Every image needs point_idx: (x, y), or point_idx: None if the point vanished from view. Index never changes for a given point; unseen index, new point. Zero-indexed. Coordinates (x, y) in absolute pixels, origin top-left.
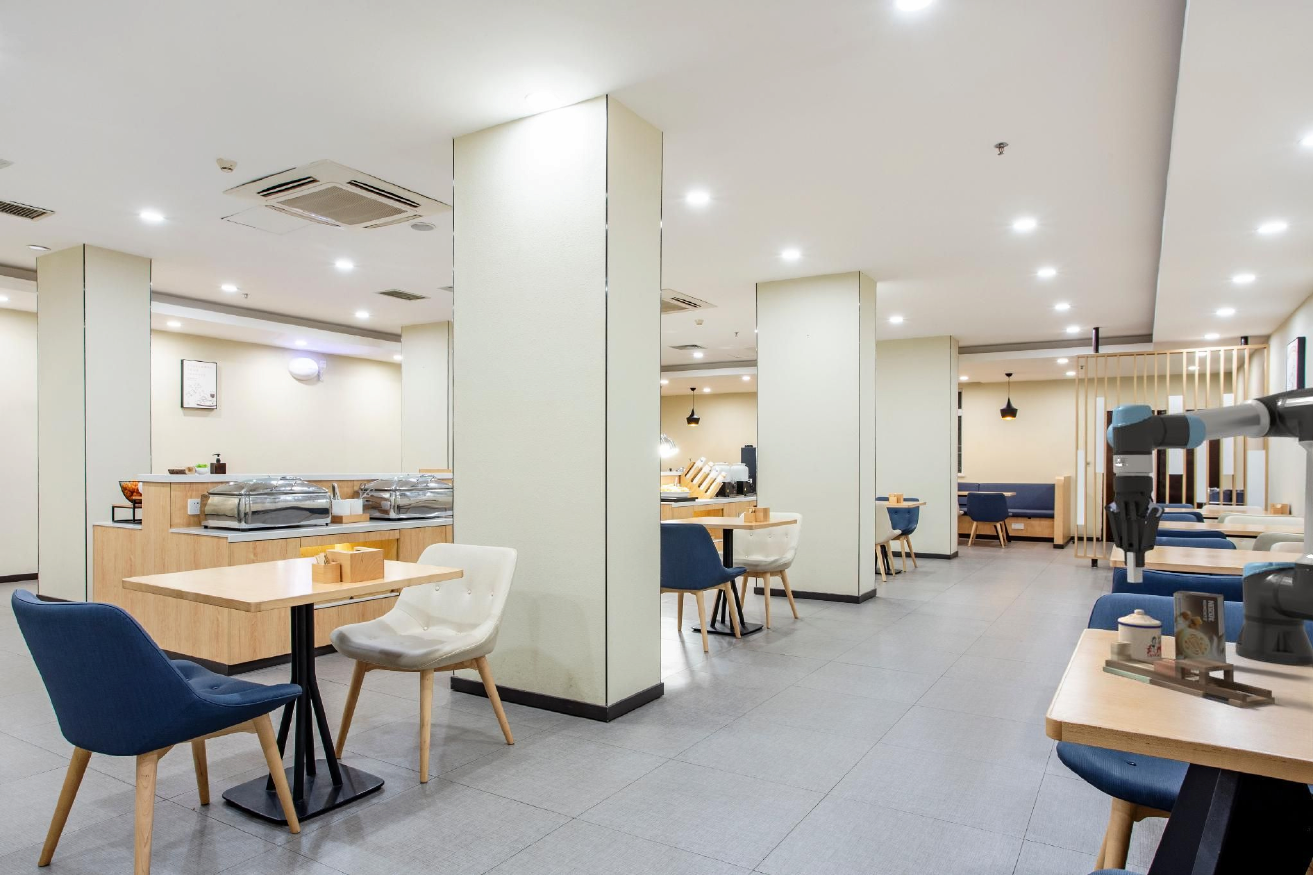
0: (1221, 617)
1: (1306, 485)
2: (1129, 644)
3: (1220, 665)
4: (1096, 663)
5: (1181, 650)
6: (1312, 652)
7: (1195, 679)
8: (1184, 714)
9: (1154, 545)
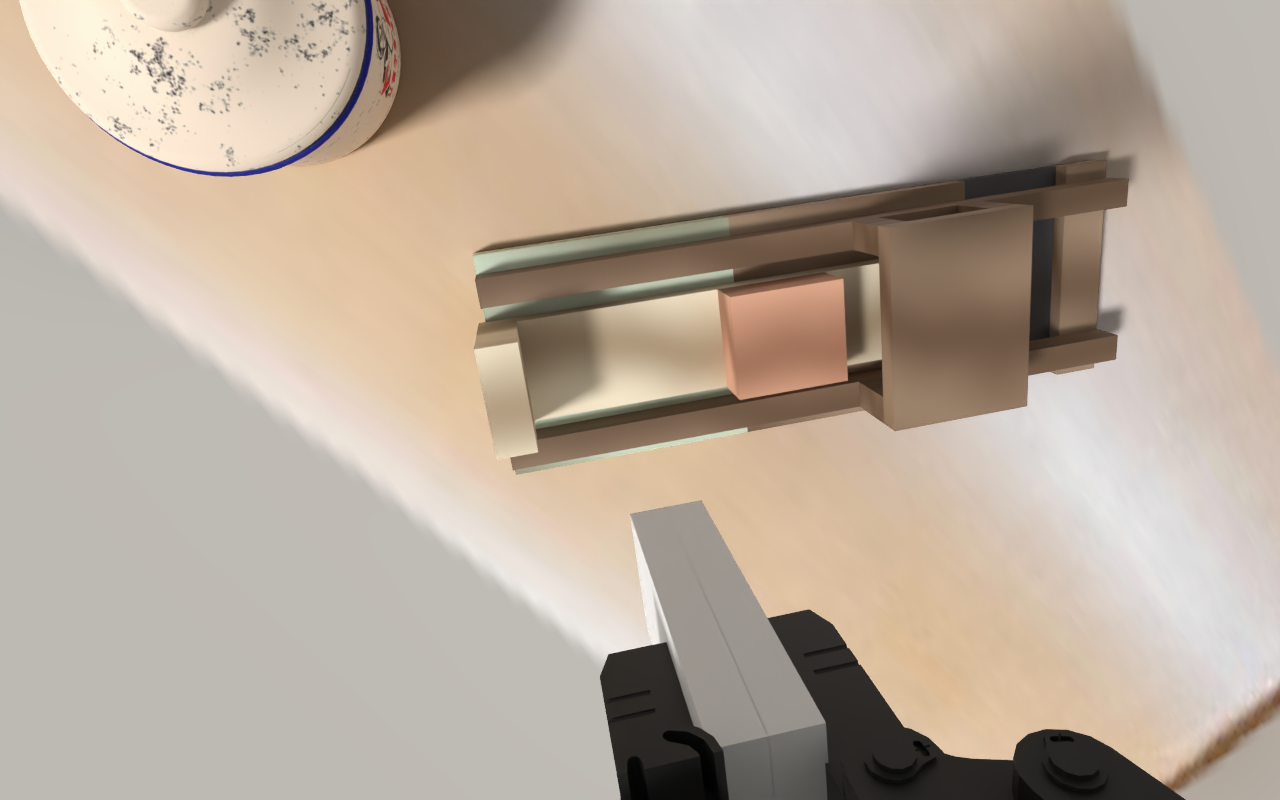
0: None
1: None
2: (520, 354)
3: (1028, 297)
4: (360, 383)
5: None
6: None
7: None
8: (1060, 603)
9: (1164, 785)
